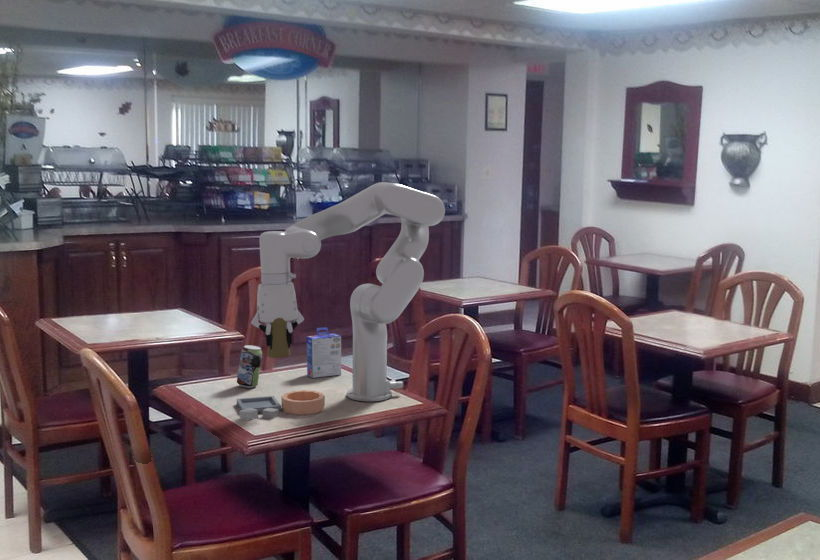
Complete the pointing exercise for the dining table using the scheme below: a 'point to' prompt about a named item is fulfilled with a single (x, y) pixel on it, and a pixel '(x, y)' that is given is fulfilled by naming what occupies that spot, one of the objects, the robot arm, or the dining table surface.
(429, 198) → the robot arm
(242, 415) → the light grey block
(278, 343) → the olive pestle
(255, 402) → the tray
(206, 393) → the dining table surface
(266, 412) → the grey block
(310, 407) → the bowl
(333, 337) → the ink cartridge box
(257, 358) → the beverage can
